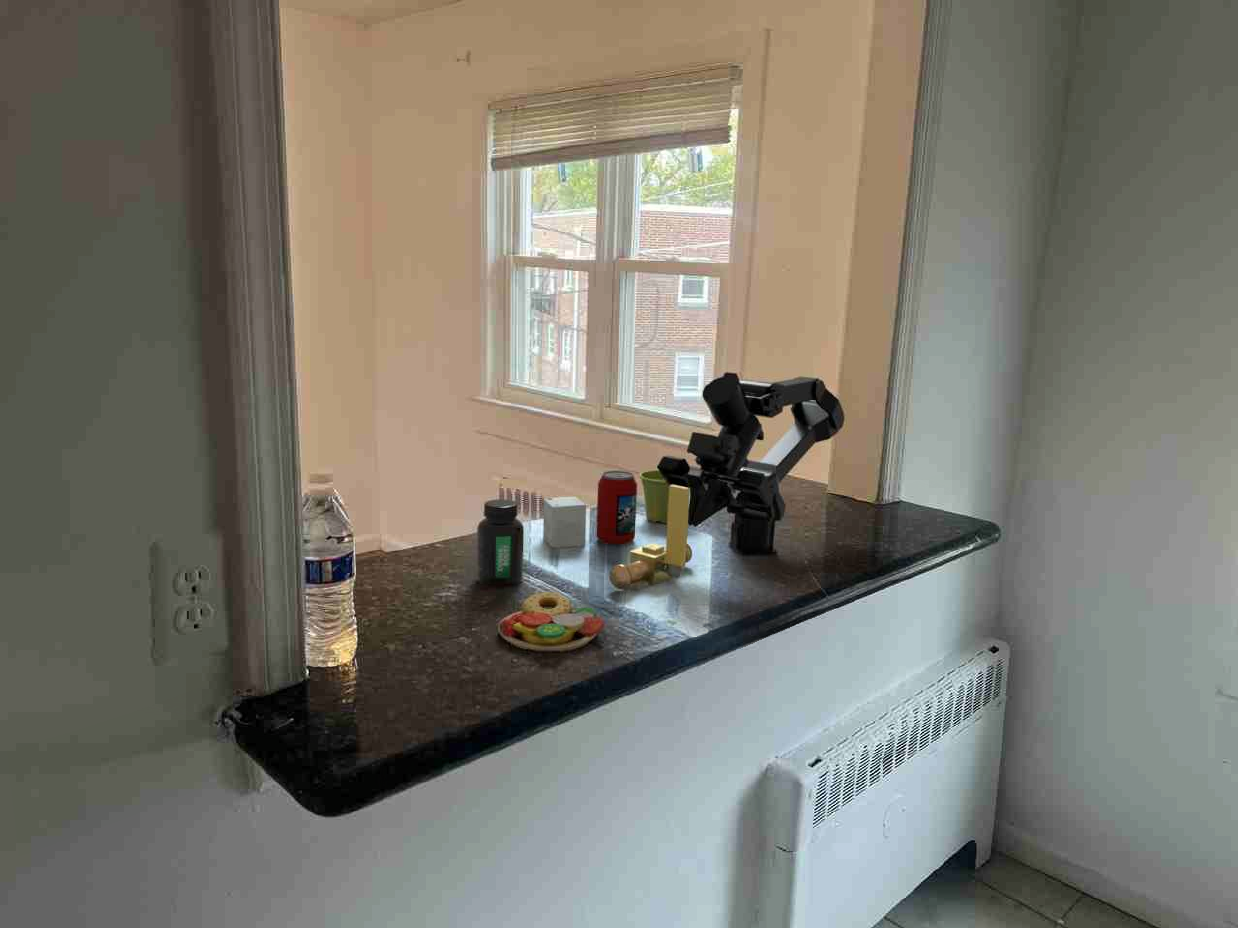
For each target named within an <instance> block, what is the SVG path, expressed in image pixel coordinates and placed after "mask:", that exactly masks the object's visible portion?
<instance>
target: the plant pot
mask: <svg viewBox="0 0 1238 928" xmlns="http://www.w3.org/2000/svg"><path fill="white" fill-rule="evenodd" d="M639 479H641V484H642V486H643V494H644V495H643V496H644V503H645V504H644V505H645V516H646V520H648V521H649V522H652V523H656V522H661V523H663V524H667V519H668V500H669V485H668V484H667V482H666V481H665V479H664V477H663V476H662V474H661V473H660V471H659V470H658V469H655V470H654V469H653V470H646V471H643V472H640V473H639Z"/></svg>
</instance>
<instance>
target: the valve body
mask: <svg viewBox="0 0 1238 928" xmlns="http://www.w3.org/2000/svg"><path fill="white" fill-rule="evenodd" d="M692 557H693V550H692V548H691V546H690V544H688V543H687V547H686V564H687V563H689V562H690V561H691V560H692ZM665 558H666V546H662V545H659V544H656V543H655V544H654V543H650V544H646V545H644V546H641V547H638V548H636V549H633V550H630V551H629V563H628V564H619V563H618V564H616V565H614V566H612V567H611V568H610V570H609V582H610V583H611V584H612V586H614V588H616V589H618V590H624V589H629V590H632V591H633V590H634V591H637V592H639V591H641V590H644V589H646V588H648V586H653V587H654V586H657V585H658V584H661V583H664V582H666V581H669V580H671V579H673V577H670V576H668V567H669V565H670V564H668V563H665ZM684 572H686V565H685V566H683V567H682V573H684Z"/></svg>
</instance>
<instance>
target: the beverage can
mask: <svg viewBox="0 0 1238 928" xmlns="http://www.w3.org/2000/svg"><path fill="white" fill-rule="evenodd" d="M601 475H602V476H601V477H600V478H599V480H598V483H597V501H596V502H597V503H596V505H597V506H596V507H597V508H596V539H598V541H600V542H601V543H603V544H605V545H608V546H626V545H628V544H629V543H631V542H632V541H633V540H635V537H636V525H637V524H636V523H637V522H636V521H637V520H636V519H637V518H636V517H637V497H638V483H637V481H636V479H635V476H634V474H633V473H632V472H630V471H623V470H608V471H604V472H603V473H602V474H601Z"/></svg>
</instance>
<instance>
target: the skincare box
mask: <svg viewBox="0 0 1238 928" xmlns="http://www.w3.org/2000/svg"><path fill="white" fill-rule="evenodd" d="M586 521H587V505H586V504H585V503H584V502H583V501H582V500H581V499H579V497H577V496H563V497H549V498H547V497H546V498H543V525H542V526H543V527H542V528H543V530H542V531H543V534H542V539H543V540H544V541H545V542H546V543H547V544H548V545H549V546H550V547H551V548H552V549H560V548H574V547H585V546H586V538H587V537H586V531H587V530H586V529H587V527H586V525H587V522H586Z"/></svg>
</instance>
